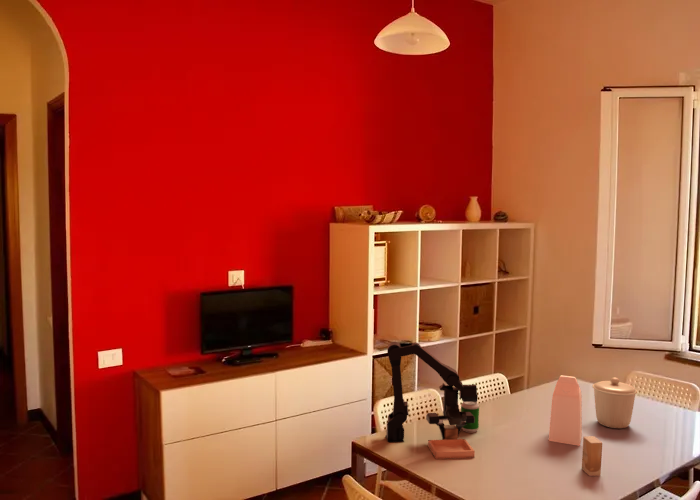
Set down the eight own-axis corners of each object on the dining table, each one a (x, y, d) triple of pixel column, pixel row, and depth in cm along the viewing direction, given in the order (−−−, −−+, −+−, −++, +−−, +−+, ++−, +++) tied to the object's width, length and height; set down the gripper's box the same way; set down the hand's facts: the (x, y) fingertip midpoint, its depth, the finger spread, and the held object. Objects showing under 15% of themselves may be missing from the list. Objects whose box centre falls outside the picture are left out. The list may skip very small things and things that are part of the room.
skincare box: (581, 468, 217) (582, 435, 216) (592, 468, 217) (593, 435, 216) (589, 476, 210) (591, 442, 210) (601, 476, 211) (602, 442, 210)
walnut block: (445, 444, 238) (445, 429, 238) (442, 439, 243) (442, 425, 243) (457, 443, 239) (458, 429, 238) (454, 439, 244) (454, 424, 243)
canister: (590, 428, 258) (592, 380, 257) (591, 415, 275) (592, 370, 274) (637, 434, 252) (639, 385, 250) (634, 420, 268) (636, 374, 267)
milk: (581, 436, 249) (584, 375, 247) (579, 445, 238) (582, 382, 237) (551, 431, 254) (553, 371, 252) (548, 440, 244) (550, 378, 242)
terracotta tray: (435, 458, 224) (435, 452, 224) (428, 446, 236) (428, 440, 236) (474, 457, 225) (474, 451, 225) (464, 445, 237) (465, 439, 237)
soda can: (478, 434, 250) (479, 406, 249) (460, 432, 251) (461, 404, 250) (478, 427, 257) (479, 400, 256) (460, 426, 258) (461, 399, 258)
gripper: (433, 407, 231) (432, 447, 232) (479, 406, 233) (478, 445, 234) (426, 398, 242) (425, 436, 243) (470, 397, 244) (469, 435, 245)
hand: (449, 438), depth 241 cm, fingers closed on walnut block, 5 cm apart
